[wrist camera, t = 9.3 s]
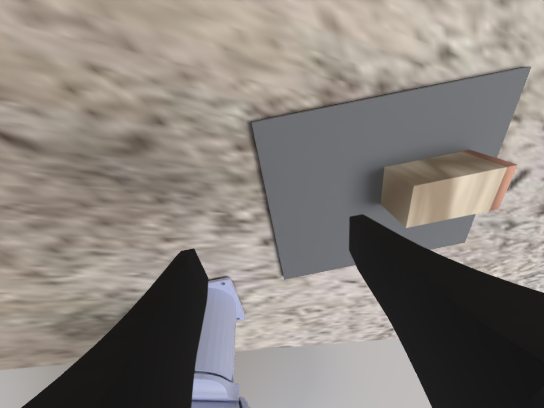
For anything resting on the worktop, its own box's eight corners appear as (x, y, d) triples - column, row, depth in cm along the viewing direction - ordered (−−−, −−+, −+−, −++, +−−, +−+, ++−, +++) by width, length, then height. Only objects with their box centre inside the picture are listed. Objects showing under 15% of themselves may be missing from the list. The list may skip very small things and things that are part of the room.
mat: (283, 276, 26) (284, 279, 26) (251, 121, 17) (251, 122, 17) (461, 239, 26) (464, 242, 26) (524, 66, 17) (531, 66, 17)
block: (406, 228, 18) (498, 209, 18) (413, 185, 16) (517, 164, 16) (380, 204, 22) (458, 188, 22) (384, 167, 20) (470, 149, 20)
